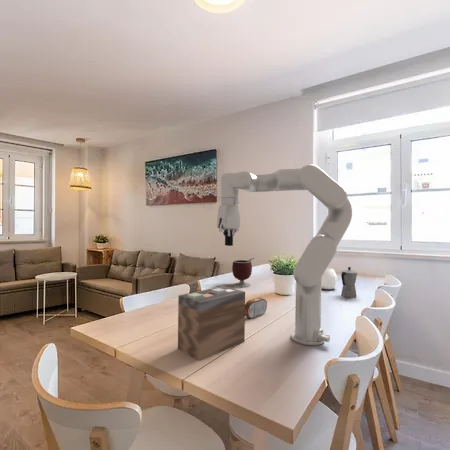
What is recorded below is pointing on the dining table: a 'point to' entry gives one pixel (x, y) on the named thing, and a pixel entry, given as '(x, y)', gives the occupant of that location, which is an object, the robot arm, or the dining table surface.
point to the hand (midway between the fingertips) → (228, 245)
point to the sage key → (194, 296)
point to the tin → (255, 307)
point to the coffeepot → (348, 283)
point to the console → (211, 322)
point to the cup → (329, 279)
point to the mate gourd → (242, 271)
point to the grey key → (218, 291)
